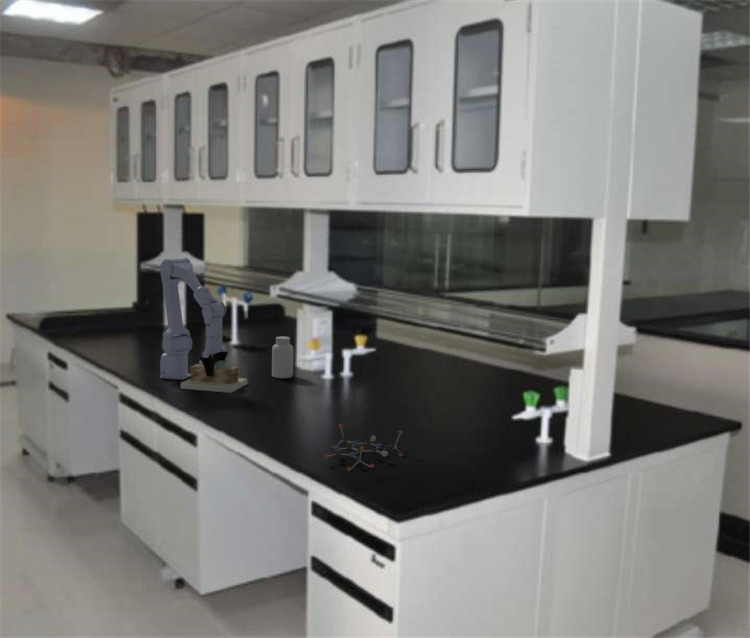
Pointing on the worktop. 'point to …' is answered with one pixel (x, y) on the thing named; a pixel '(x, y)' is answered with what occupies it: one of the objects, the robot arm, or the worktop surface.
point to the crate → (222, 364)
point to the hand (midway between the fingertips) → (214, 374)
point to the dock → (213, 385)
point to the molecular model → (362, 448)
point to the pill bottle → (282, 358)
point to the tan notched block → (214, 374)
